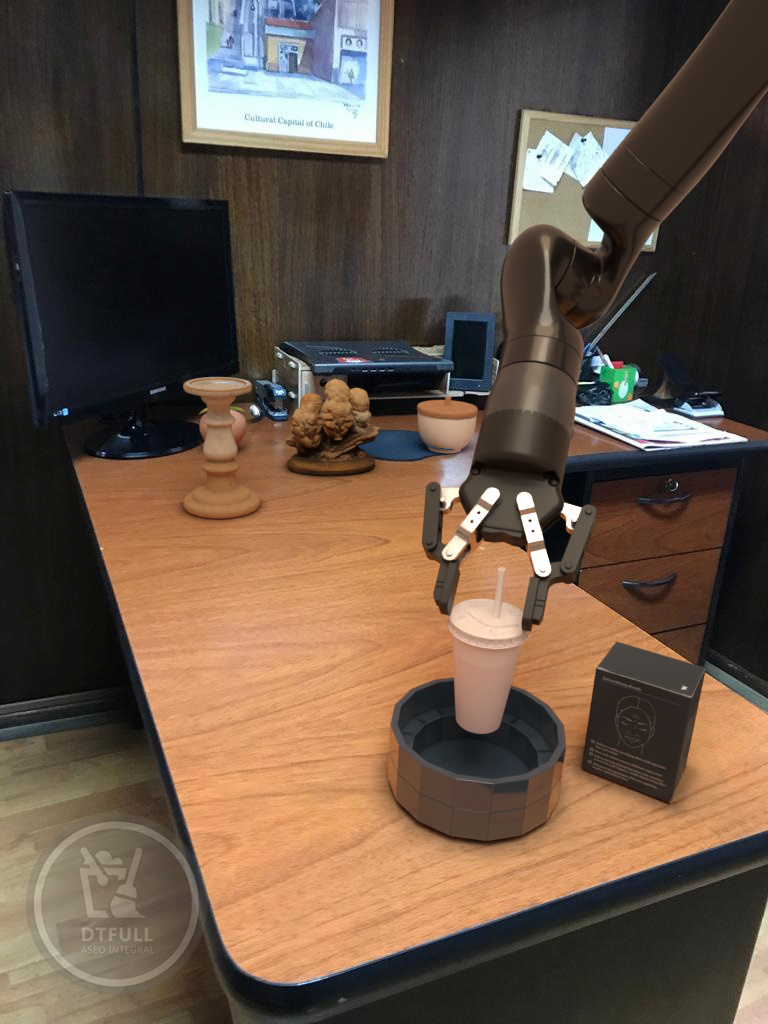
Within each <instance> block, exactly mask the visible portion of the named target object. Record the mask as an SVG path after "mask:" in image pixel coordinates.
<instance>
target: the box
mask: <svg viewBox="0 0 768 1024" xmlns="http://www.w3.org/2000/svg"><path fill="white" fill-rule="evenodd" d="M706 671H707V669H706V667H705V666H701V665H699V664H695V663H691V662H688V661H683V660H680V659H677V658H675V657H674V658H673V657H670V656H668V655H663V654H660V653H658V652H654V651H650V650H647V649H643V648H640V647H637V646H634V645H631V644H630V645H629V644H627V643H624V642H620V641H616V642H614V644H612V647H611V648H610V649H609V650H608V652H607V653H606V654H605V656H604V657H603V659H602V660H601V661H600V662H599V664H598V665H597V666H596V668H595V673H594V678H593V684H592V685H593V687H592V692H591V700H590V706H589V713H588V718H587V726H586V734H585V741H584V747H583V753H582V760H581V769H582V770H583V771H586V772H588V773H592V774H595V775H598V776H599V777H602V778H605V779H607V780H610V781H612V782H615V783H618V784H621V785H623V786H625V787H628V788H631V789H634V790H636V791H638V792H641V793H643V794H646V795H648V796H650V797H654V798H656V799H659V800H661V801H664V802H666V803H671V802H672V800H673V798H674V795H675V793H676V791H677V788H678V786H679V784H680V781H681V779H682V776H683V775H684V773H685V769H686V768H687V762H688V758H689V753H690V749H691V744H692V739H693V733H694V729H695V726H696V725H695V724H696V719H697V715H698V709H699V704H700V700H701V695H702V692H703V691H702V690H703V687H704V681H705V676H706Z"/></svg>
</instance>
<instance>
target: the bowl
mask: <svg viewBox="0 0 768 1024" xmlns="http://www.w3.org/2000/svg"><path fill="white" fill-rule="evenodd" d="M389 723H390V724H389V739H388V740H389V741H388V742H389V743H388V757H387V758H388V760H387V775H386V776H387V780H388V783H389V785H390V788H391V790H392V793H393V796H394V798H395V801H397V803H399V805H401V806H402V808H404V809H405V810H406V811H407V812H408V813H409V815H411V816H412V817H413V818H414V819H415V820H416V821H417V822H419V823H421V824H423V825H426V826H428V827H430V828H432V829H434V830H437V831H439V832H441V833H443V834H445V835H448V836H450V837H454V838H455V837H456V838H462V839H463V838H464V839H470V840H477V841H484V842H487V841H488V842H489V841H495V840H501V839H502V840H503V839H507V838H515V837H521V836H523V835H525V834H527V833H529V832H530V831H532V830H533V829H535V828H537V827H539V826H540V825H542V824H543V823H545V822H547V821H548V819H549V817H550V815H551V813H552V812H553V810H554V808H555V806H556V805H557V803H558V801H559V797H560V790H561V784H562V776H563V771H564V764H565V756H566V751H567V740H566V731H565V725H564V723H563V721H562V720H561V719H560V718H559V716H558V715H557V714H556V712H555V711H554V710H553V709H552V707H551V706H550V705H549V704H548V703H546V702H545V701H544V700H542V699H540V698H539V697H537V696H535V695H534V694H533V693H531V692H529V691H528V690H526V689H524V688H521V687H519V686H515V685H512V684H511V688H510V691H509V695H508V698H507V702H506V706H505V709H504V713H503V716H502V720H501V724H500V726H499V728H498V729H497V730H495V731H494V732H491V733H487V734H477V733H472V732H469V731H467V730H465V729H463V728H462V727H461V726H460V725H459V724H458V723H457V721H456V711H455V689H454V676H453V677H452V676H451V677H443V678H436V679H432V680H430V681H427V682H424V683H422V684H420V685H417V686H414V687H412V688H411V689H409V690H408V691H407V692H406V693H405V694H404V695H403V696H402V697H401V698H400V699H399V700H397V701H396V702H395V704H394V705H393V709H392V715H391V719H390V722H389Z"/></svg>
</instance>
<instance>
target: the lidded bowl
mask: <svg viewBox="0 0 768 1024" xmlns="http://www.w3.org/2000/svg"><path fill="white" fill-rule="evenodd" d="M416 412H417V414H416V415H417V416H416V417H417V418H416V423H417V431H418V434H419V437H420V439H421V441H422V442H423V443H424V444H425V443H426V444H428V445H430V446H433V447H436V448H444V449H454V450H444V449H436V448H432V447H429V446H427V449H428V450H429V451H430V452H434V453H439V454H457V453H460V452H461V451H463V450H462V449H464V448H465V447H466V446H467V445H468V444H469V443H470V441H471V440H472V438H473V437H474V434H475V430H476V426H477V416H478V414H479V409H478V407H477V406H476V405H474V404H473V403H468V402H466V401H465V402H464V401H459V400H452V397H451V396H445V398H444V399H431V400H425V401H422V402H419V403H418V404H417V405H416ZM426 444H425V445H426Z"/></svg>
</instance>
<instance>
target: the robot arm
mask: <svg viewBox="0 0 768 1024" xmlns="http://www.w3.org/2000/svg"><path fill="white" fill-rule="evenodd" d="M767 92H768V0H730V1H729V3H728V4H727V5H726V7H725V8H724V10H723V11H722V12H721V14H720V15H719V17H718V18H717V20H716V21H715V22H714V24H713V25H712V27H711V28H710V30H709V31H708V32H707V33H706V35H705V36H704V38H703V39H702V40H701V41H700V42H699V44H698V46H697V47H696V48H695V50H694V51H693V52H692V53H691V55H690V56H689V57H688V58H687V60H686V61H685V63H684V64H683V65H682V66H681V68H680V69H679V70H678V71H677V73H676V74H675V75H674V77H673V78H672V79H671V81H669V83H668V84H667V85H666V86H665V88H664V89H663V91H661V93H660V94H659V95H658V97H657V98H656V99H655V100H654V101H653V103H652V104H651V105H650V106H649V108H647V110H645V112H644V114H643V115H642V116H641V117H640V119H638V121H637V122H636V123H635V124H634V125H633V127H632V128H631V129H630V130H629V132H628V133H627V134H626V135H625V136H624V138H623V139H622V141H621V142H620V143H618V145H617V147H615V149H614V150H613V152H611V154H610V155H609V156H608V158H606V160H605V161H604V163H602V165H601V167H599V168H598V170H597V171H596V172H595V173H594V174H593V176H592V177H591V179H590V180H589V181H588V183H587V184H586V185H585V187H584V189H583V191H582V194H581V203H582V206H583V208H584V209H585V212H586V213H587V215H588V216H589V217H590V219H591V220H592V221H593V222H594V224H596V225H597V227H598V228H599V229H600V230H601V231H602V233H603V234H602V239H601V242H600V244H599V245H598V247H597V248H596V250H595V251H594V252H593V251H592V250H590V249H589V248H588V247H586V246H585V245H583V244H582V243H580V242H579V241H578V240H576V239H575V238H573V237H572V236H571V235H569V234H567V233H566V232H565V231H563V230H562V229H560V228H559V227H557V226H554V225H553V224H547V223H542V224H535V225H533V226H530V227H528V228H526V229H525V230H523V231H522V232H521V233H520V234H518V235H517V236H516V238H514V240H513V241H512V243H511V244H510V246H509V248H508V250H507V252H506V254H505V256H504V259H503V262H502V266H501V270H500V278H499V279H500V281H499V289H500V290H499V291H500V292H499V293H500V307H501V321H502V334H503V346H502V350H501V353H500V354H501V355H500V359H499V362H498V366H497V369H496V370H497V371H496V374H495V378H494V382H493V384H492V386H491V389H490V391H489V393H488V396H487V399H486V403H485V406H484V411H483V415H482V419H481V424H480V427H479V430H478V431H479V432H478V436H477V441H476V445H475V449H474V453H473V456H472V461H471V466H470V468H469V473H468V475H467V477H466V479H465V480H464V481H463V482H462V483H461V484H460V486H459V487H458V486H455V487H452V486H451V487H449V486H448V487H441V484H440V483H439V482H438V481H431V482H428V483H427V485H426V486H425V495H424V497H425V498H424V509H423V519H422V521H423V522H422V534H421V546H422V548H423V551H424V553H425V555H426V558H427V559H428V560H430V561H434V562H436V563H438V564H439V568H438V572H437V576H436V580H435V584H434V589H433V593H432V594H433V600H434V603H435V606H437V607H438V610H439V613H440V615H444V616H448V617H449V616H450V615H451V612H452V608H453V607H454V603H455V598H456V595H457V591H458V586H459V581H460V577H461V571H460V568H461V567H462V565H463V564H464V563H465V561H466V560H467V559H468V558H469V557H470V555H471V554H472V553H475V552H476V550H477V549H478V548H479V546H480V545H482V543H483V542H487V543H492V544H495V543H497V544H498V543H504V544H507V545H509V546H511V547H515V548H516V547H517V548H523V547H524V546H525V549H526V553H527V557H528V560H529V563H530V566H531V570H532V573H533V576H530V577H529V581H528V586H527V591H526V597H525V602H524V606H523V610H522V611H523V616H522V623H521V626H522V630H524V631H529V633H531V632H532V631H533V626H540V625H541V624H542V623H543V621H544V616H545V611H546V606H547V600H548V595H549V590H550V588H551V587H552V586H553V585H558V584H565V585H572V584H573V583H574V582H575V581H576V579H577V576H578V573H579V572H580V568H581V566H582V562H583V560H584V557H585V554H586V551H587V549H588V547H589V543H590V541H591V538H592V535H593V533H594V530H595V527H596V523H597V522H596V521H597V513H598V510H597V508H596V507H595V506H594V505H593V504H589V503H588V504H584V505H583V506H582V507H581V506H578V505H574V504H572V503H568V502H565V499H564V497H563V495H562V487H563V482H564V478H565V477H564V476H565V471H566V467H567V460H568V455H569V450H570V445H571V442H572V439H573V436H574V423H575V419H576V408H577V406H576V405H577V391H578V386H579V381H580V376H581V371H582V365H583V360H584V353H585V352H584V351H585V342H584V339H583V336H582V333H581V332H580V331H581V330H584V329H587V328H589V327H591V326H592V325H594V324H596V323H597V322H598V321H599V320H601V319H602V318H603V317H604V315H605V314H606V313H607V312H608V310H609V309H610V308H611V306H612V304H613V302H614V300H615V299H616V297H617V295H618V293H619V291H620V289H621V288H622V286H623V283H624V281H625V279H627V276H628V274H629V272H630V271H631V269H632V267H633V265H634V264H635V262H636V261H637V259H638V257H639V255H640V254H641V252H642V250H643V249H644V246H645V245H646V243H647V242H648V240H649V239H650V238H651V236H652V234H653V233H654V232H655V231H656V229H658V228H659V226H660V225H661V224H662V223H663V221H665V220H666V219H667V217H669V215H671V213H672V212H673V211H674V210H675V209H676V207H677V206H679V205H680V203H681V202H682V201H683V200H684V199H685V198H686V197H687V195H688V194H690V192H691V191H692V190H693V189H694V188H695V187H696V186H697V184H698V183H699V182H700V181H701V180H702V179H703V177H704V176H705V175H706V174H707V173H708V171H709V170H710V169H711V168H712V166H713V165H714V164H715V162H717V160H718V159H719V157H721V155H722V154H723V152H724V151H725V150H726V148H727V147H728V145H729V144H730V142H731V141H732V140H733V138H734V137H735V135H736V134H737V133H738V131H739V130H740V128H741V127H742V126H743V124H744V123H745V122H746V120H747V118H748V117H749V116H750V115H751V113H752V112H753V110H754V109H755V108H756V106H757V105H758V104H759V102H760V101H761V100H762V98H763V97H764V96H765V94H766V93H767ZM457 503H460V504H461V507H462V509H463V511H464V512H465V515H466V517H464V519H462V521H461V522H460V523H459V525H458V527H457V529H456V532H455V534H454V535H453V536H452V538H451V539H450V540H449V541H448V543H447V544H445V543H443V525H444V515H448V514H450V513H451V512H452V510H453V507H454V505H455V504H457ZM560 519H563V520H564V521H565V522H566V523H565V531H566V532H567V533H568V534H570V538H569V540H568V542H567V545H566V548H565V551H564V553H563V556H562V558H561V561H554V562H553V561H552V562H550V559H549V556H548V553H547V548H546V544H545V539H544V536H543V534H544V533H545V532H547V530H548V529H550V528H551V527H552V526H553V525H554V524H556V523H557V522H558V521H559V520H560Z"/></svg>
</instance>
